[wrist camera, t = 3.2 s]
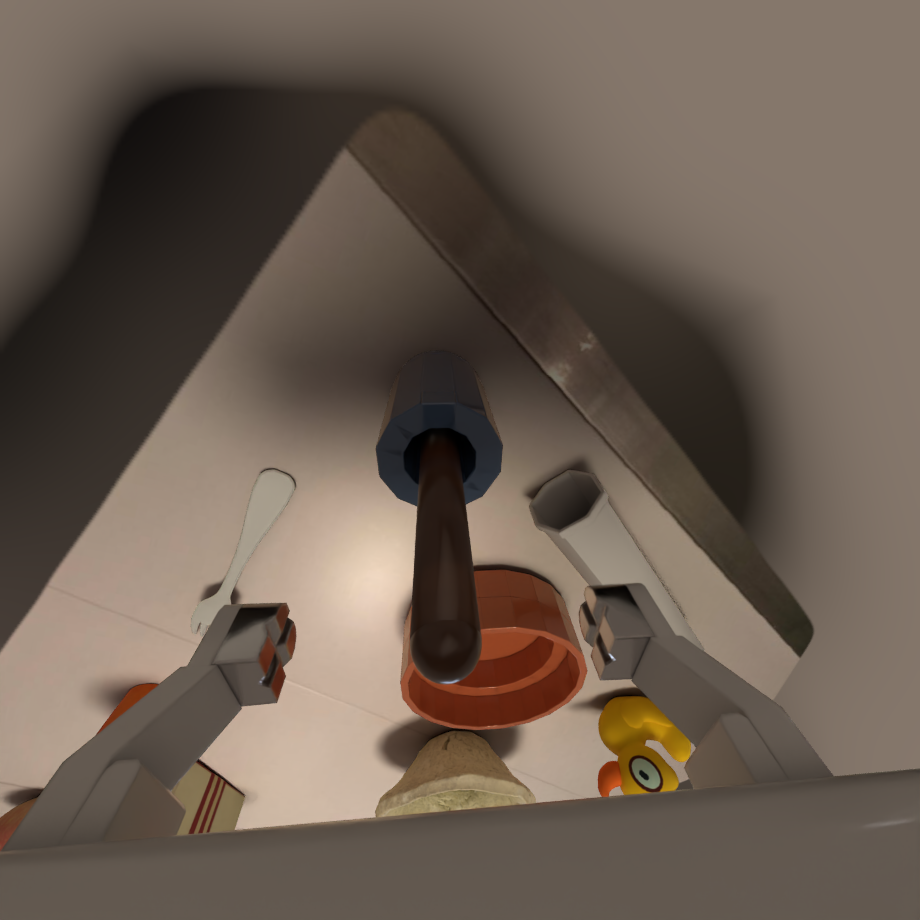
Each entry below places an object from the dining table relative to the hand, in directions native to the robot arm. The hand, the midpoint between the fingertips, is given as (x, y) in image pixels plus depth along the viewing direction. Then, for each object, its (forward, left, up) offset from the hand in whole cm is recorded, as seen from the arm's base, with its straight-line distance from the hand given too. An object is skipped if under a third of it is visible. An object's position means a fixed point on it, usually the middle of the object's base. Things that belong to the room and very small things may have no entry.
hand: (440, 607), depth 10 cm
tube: (-16, +17, -16) cm, 28 cm away
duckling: (-22, +40, -16) cm, 48 cm away
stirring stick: (0, 0, -15) cm, 15 cm away
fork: (+16, +14, -16) cm, 27 cm away
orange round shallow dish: (-4, +23, -16) cm, 28 cm away
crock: (0, 0, -16) cm, 16 cm away
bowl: (-1, +48, -16) cm, 50 cm away
